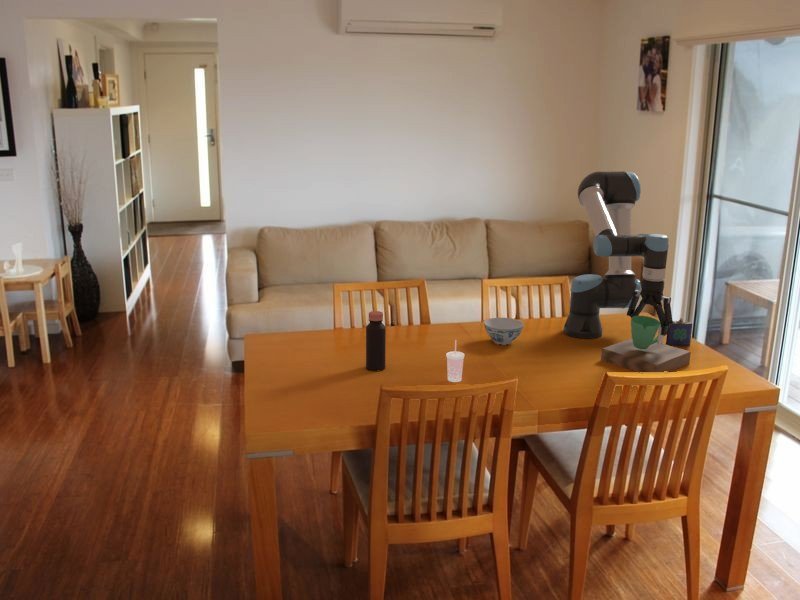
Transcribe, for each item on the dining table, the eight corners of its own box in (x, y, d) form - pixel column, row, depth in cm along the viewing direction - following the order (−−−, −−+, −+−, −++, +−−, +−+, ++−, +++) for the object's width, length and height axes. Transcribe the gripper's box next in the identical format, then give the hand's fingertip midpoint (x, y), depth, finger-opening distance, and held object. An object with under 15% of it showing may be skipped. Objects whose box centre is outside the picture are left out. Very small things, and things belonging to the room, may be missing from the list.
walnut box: (600, 361, 276) (602, 348, 275) (635, 349, 290) (637, 336, 288) (655, 378, 260) (656, 364, 258) (689, 364, 273) (690, 351, 272)
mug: (635, 352, 267) (640, 326, 263) (621, 341, 276) (625, 316, 272) (672, 350, 271) (677, 324, 267) (657, 339, 279) (661, 314, 276)
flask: (689, 343, 295) (692, 317, 292) (691, 346, 292) (694, 319, 289) (664, 343, 295) (667, 316, 292) (667, 345, 292) (669, 319, 289)
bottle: (383, 364, 269) (384, 309, 264) (386, 371, 263) (387, 315, 258) (364, 365, 268) (364, 310, 263) (367, 372, 262) (367, 316, 257)
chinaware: (530, 344, 293) (531, 324, 291) (501, 351, 284) (502, 331, 282) (504, 334, 305) (505, 315, 302) (475, 340, 296) (476, 321, 294)
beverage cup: (462, 383, 252) (464, 343, 249) (444, 382, 254) (445, 342, 250) (464, 376, 258) (466, 337, 254) (446, 375, 259) (447, 336, 256)
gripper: (619, 274, 272) (614, 334, 278) (676, 286, 256) (669, 349, 262) (632, 271, 277) (626, 330, 283) (688, 283, 261) (681, 345, 267)
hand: (647, 339), depth 272 cm, fingers closed on mug, 10 cm apart
